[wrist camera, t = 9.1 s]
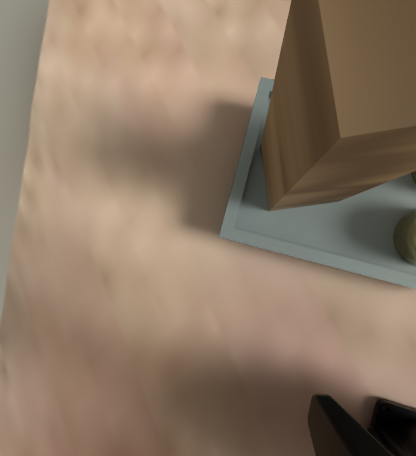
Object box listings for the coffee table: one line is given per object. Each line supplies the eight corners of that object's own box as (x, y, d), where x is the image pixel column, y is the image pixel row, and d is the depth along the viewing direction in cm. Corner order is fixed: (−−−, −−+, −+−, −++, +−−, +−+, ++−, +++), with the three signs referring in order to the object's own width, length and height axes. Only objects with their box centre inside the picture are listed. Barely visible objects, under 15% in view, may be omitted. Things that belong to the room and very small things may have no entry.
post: (327, 135, 18) (550, -132, 5) (338, 201, 18) (602, 95, 5) (260, 146, 18) (306, -72, 6) (269, 211, 18) (340, 137, 5)
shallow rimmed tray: (472, 148, 20) (527, 126, 16) (436, 294, 19) (483, 307, 16) (257, 105, 22) (260, 77, 18) (222, 237, 22) (218, 237, 18)
